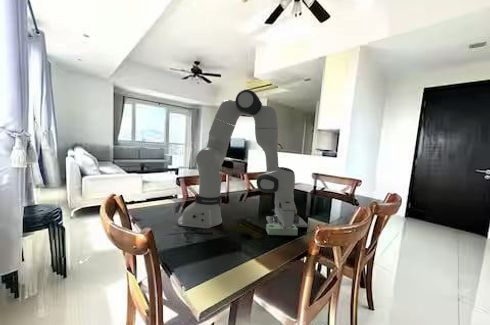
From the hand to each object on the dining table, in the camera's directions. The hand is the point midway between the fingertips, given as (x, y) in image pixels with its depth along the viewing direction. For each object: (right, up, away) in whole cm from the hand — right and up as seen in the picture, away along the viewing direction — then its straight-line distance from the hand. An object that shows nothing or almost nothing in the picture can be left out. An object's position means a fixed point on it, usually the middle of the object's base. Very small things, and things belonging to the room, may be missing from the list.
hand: (281, 229), depth 108 cm
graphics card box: (+2, +1, +36) cm, 37 cm away
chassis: (+5, -1, +14) cm, 14 cm away
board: (0, -2, 0) cm, 2 cm away
